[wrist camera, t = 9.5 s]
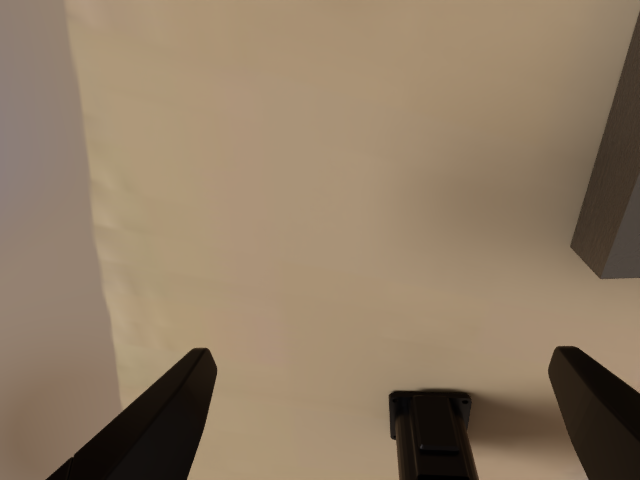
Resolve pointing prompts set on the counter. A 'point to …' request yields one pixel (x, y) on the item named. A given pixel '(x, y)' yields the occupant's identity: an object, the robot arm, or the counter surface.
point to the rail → (615, 184)
